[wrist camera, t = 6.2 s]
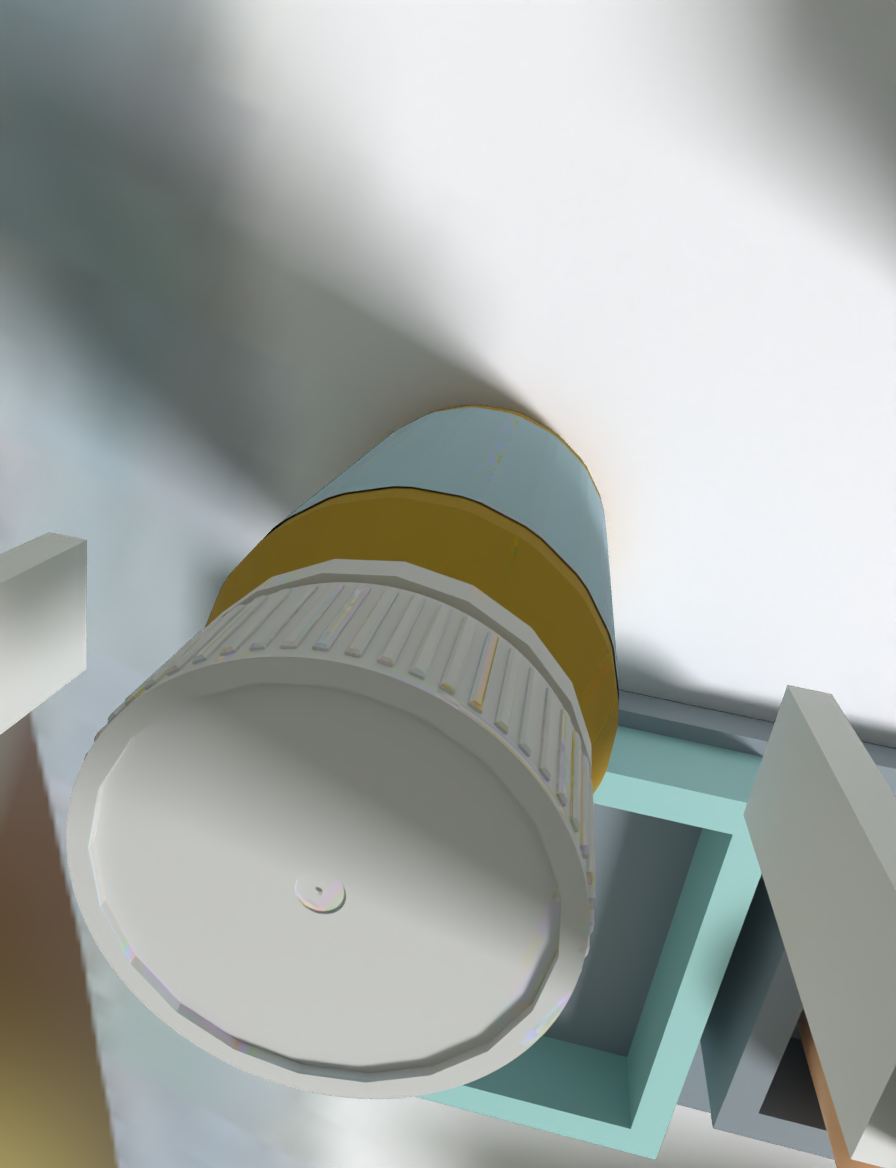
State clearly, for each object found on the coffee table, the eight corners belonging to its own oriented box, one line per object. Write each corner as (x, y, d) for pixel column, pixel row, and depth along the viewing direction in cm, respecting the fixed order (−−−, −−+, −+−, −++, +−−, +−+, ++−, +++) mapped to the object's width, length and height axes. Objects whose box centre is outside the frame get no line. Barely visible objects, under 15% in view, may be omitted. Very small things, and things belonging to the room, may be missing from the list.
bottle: (428, 676, 25) (230, 1171, 11) (312, 470, 23) (-88, 752, 10) (646, 586, 23) (736, 1054, 9) (537, 354, 21) (444, 496, 8)
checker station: (294, 620, 25) (240, 683, 21) (1126, 798, 23) (1236, 904, 19) (260, 967, 30) (212, 1069, 26) (938, 1139, 28) (995, 1278, 24)
